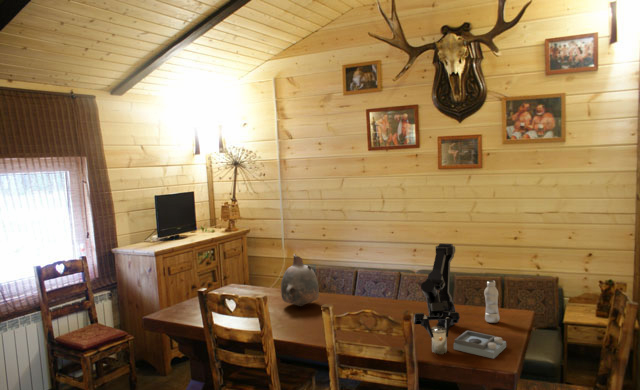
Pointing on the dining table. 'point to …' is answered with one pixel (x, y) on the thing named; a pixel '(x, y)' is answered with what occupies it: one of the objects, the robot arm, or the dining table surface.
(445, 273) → the robot arm
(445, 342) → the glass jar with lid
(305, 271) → the jug
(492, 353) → the square tray with knobs
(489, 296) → the plastic bottle
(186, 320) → the dining table surface
